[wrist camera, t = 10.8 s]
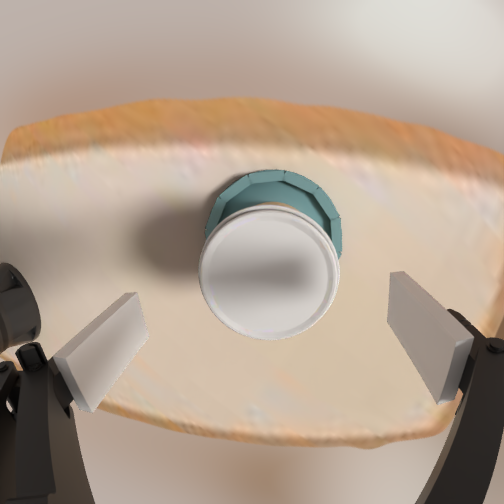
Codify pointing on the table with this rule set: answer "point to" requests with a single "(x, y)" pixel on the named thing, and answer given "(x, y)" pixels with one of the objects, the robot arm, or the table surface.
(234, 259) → the coffee cup
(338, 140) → the table surface
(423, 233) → the table surface
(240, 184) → the saucer
